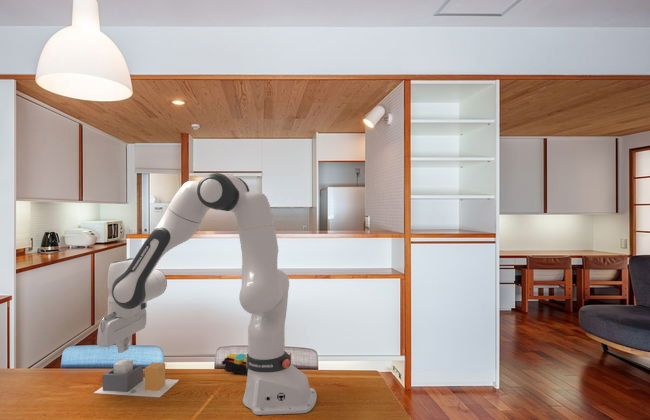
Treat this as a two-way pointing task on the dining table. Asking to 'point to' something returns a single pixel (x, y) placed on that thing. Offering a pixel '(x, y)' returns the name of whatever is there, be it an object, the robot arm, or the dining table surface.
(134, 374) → the breaker panel
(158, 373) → the orange rectangular block
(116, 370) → the button
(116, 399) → the dining table surface
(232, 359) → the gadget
